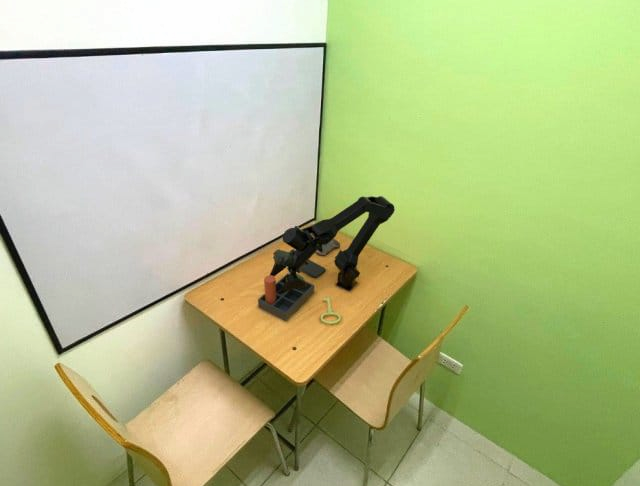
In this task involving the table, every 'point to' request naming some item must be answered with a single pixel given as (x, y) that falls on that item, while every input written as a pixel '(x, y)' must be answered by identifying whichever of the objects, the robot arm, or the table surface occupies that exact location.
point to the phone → (313, 269)
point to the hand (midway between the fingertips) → (274, 285)
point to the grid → (286, 300)
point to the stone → (329, 247)
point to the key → (329, 313)
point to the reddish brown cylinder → (270, 289)
